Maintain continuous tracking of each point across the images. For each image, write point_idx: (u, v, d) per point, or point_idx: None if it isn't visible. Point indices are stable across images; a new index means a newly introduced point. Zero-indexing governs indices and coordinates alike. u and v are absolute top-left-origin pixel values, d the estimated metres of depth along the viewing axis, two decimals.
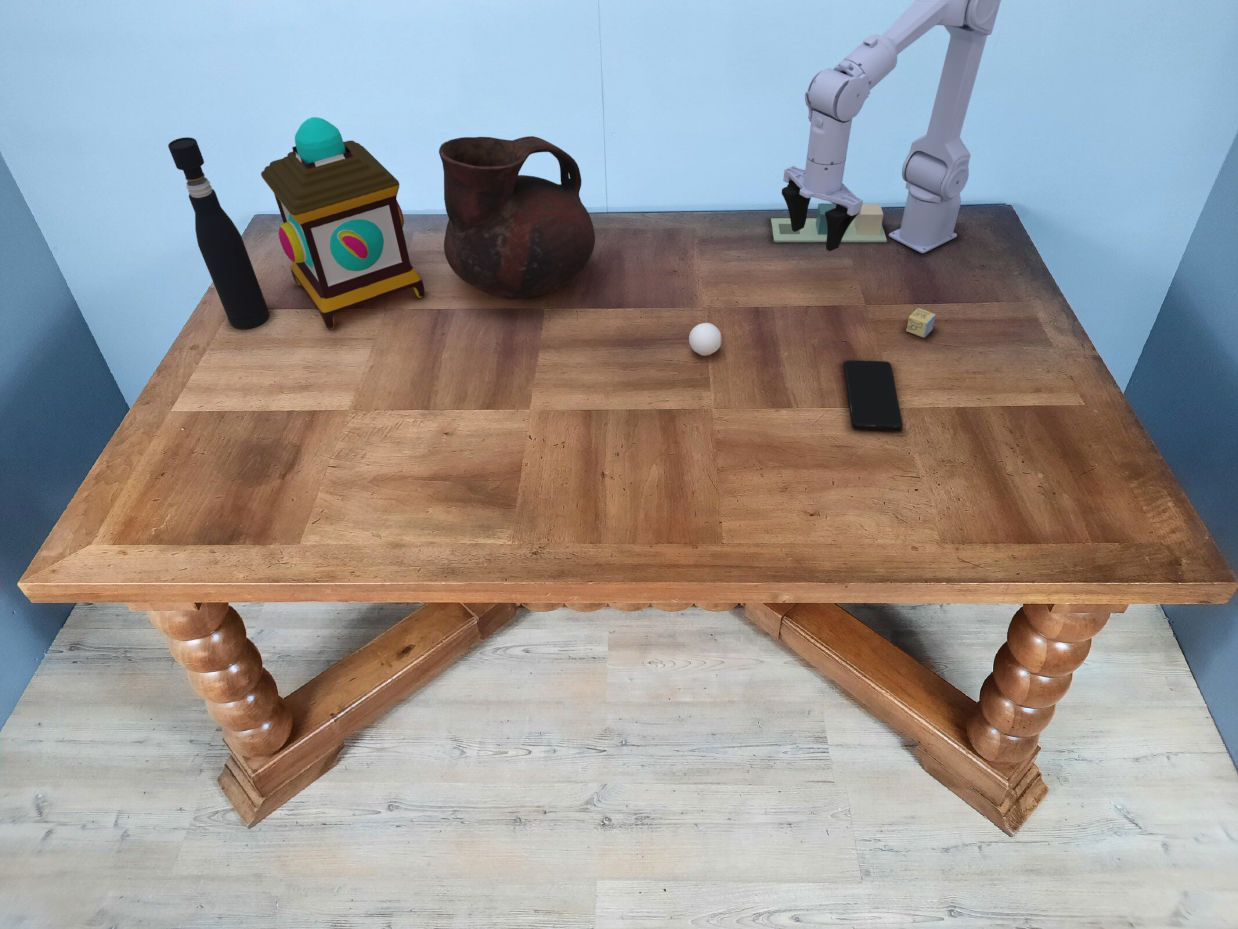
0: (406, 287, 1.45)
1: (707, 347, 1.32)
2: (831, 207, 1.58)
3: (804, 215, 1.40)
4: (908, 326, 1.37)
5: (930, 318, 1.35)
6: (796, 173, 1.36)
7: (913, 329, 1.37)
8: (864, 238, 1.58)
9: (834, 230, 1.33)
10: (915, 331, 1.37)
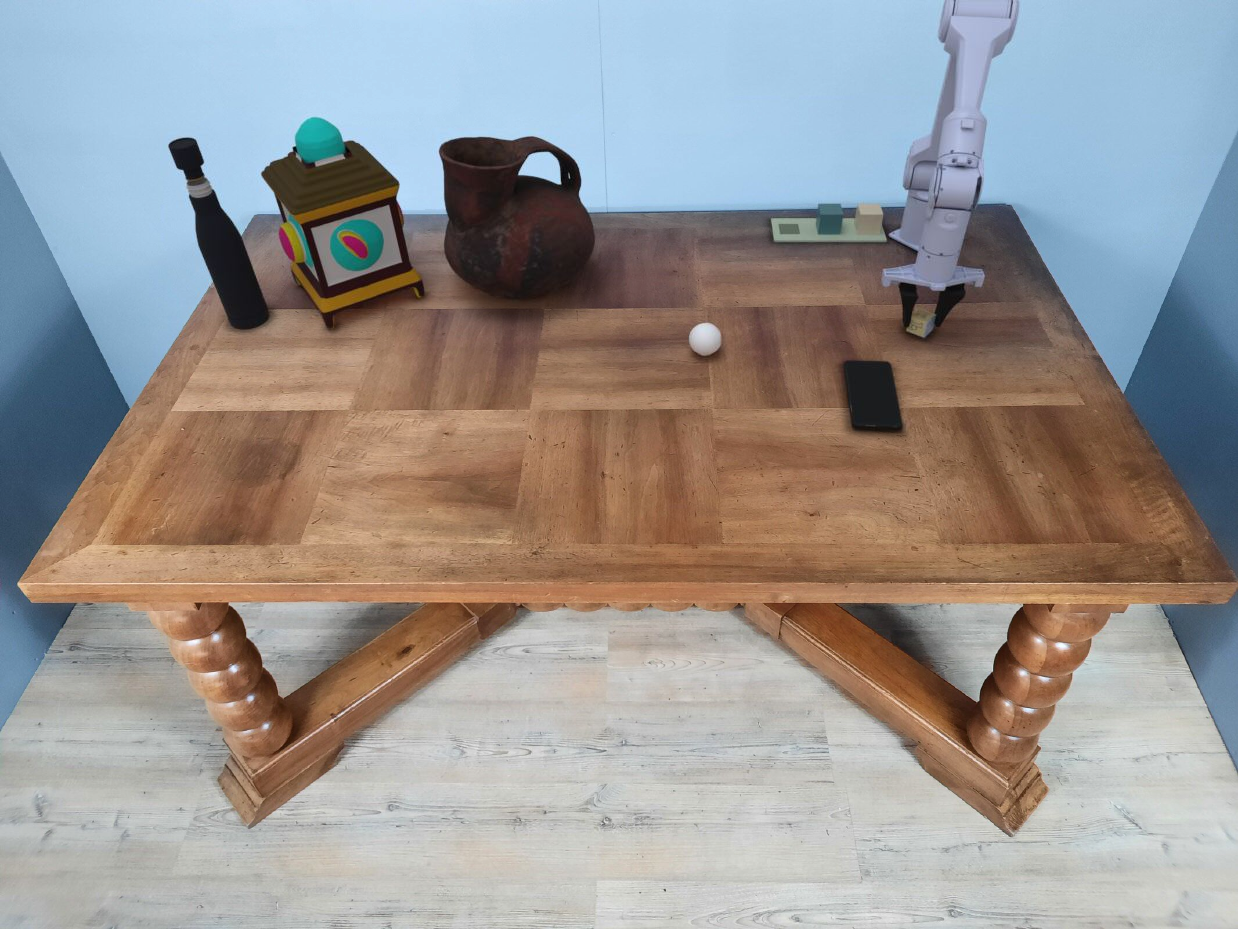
0: (406, 287, 1.45)
1: (707, 347, 1.32)
2: (831, 207, 1.58)
3: None
4: None
5: (930, 318, 1.35)
6: (897, 274, 1.31)
7: (913, 329, 1.37)
8: (864, 238, 1.58)
9: (953, 306, 1.33)
10: (915, 331, 1.37)
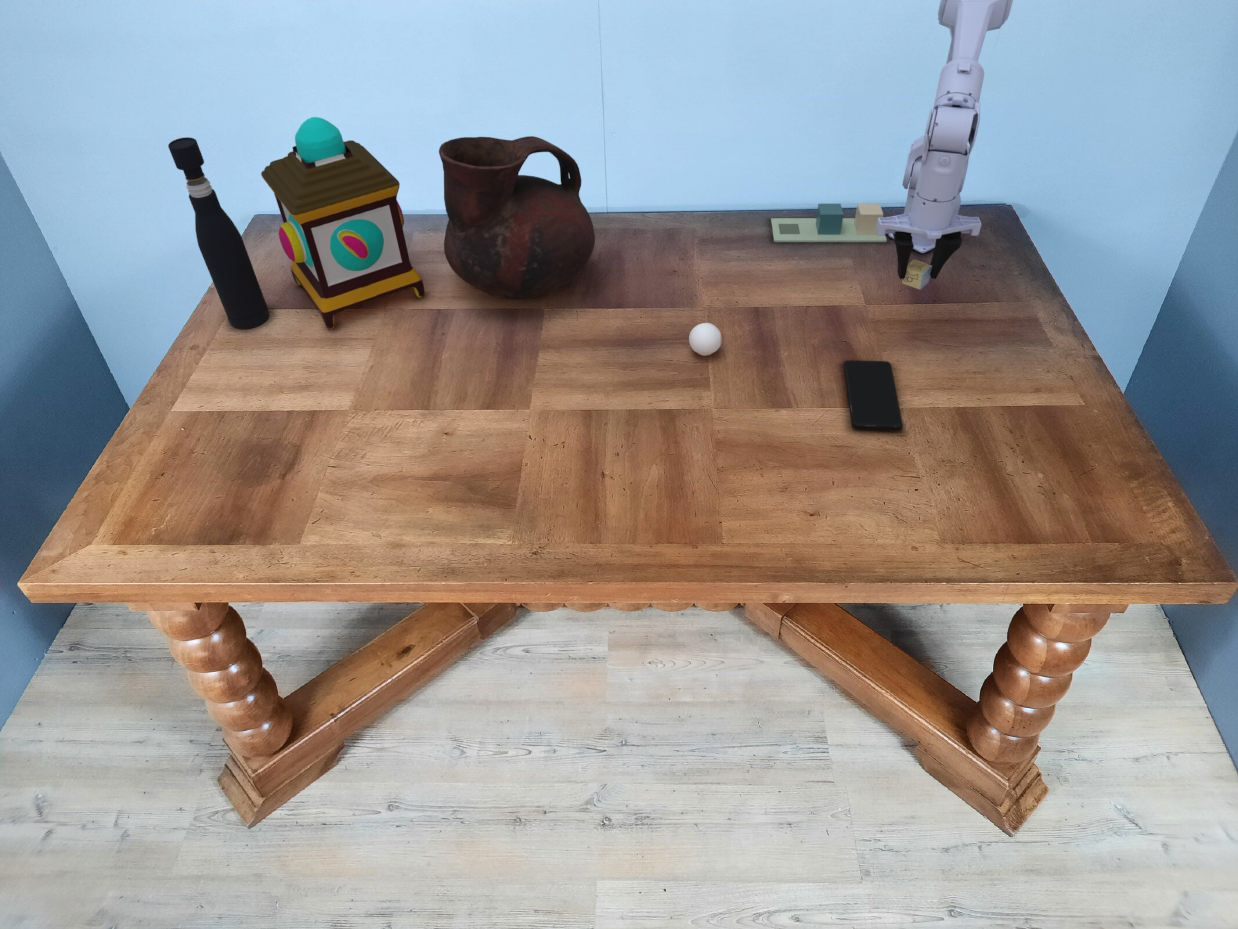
0: (406, 287, 1.45)
1: (707, 347, 1.32)
2: (831, 207, 1.58)
3: None
4: (904, 278, 1.34)
5: (926, 269, 1.32)
6: (892, 222, 1.28)
7: (909, 281, 1.34)
8: (864, 238, 1.58)
9: (949, 256, 1.30)
10: (911, 283, 1.34)
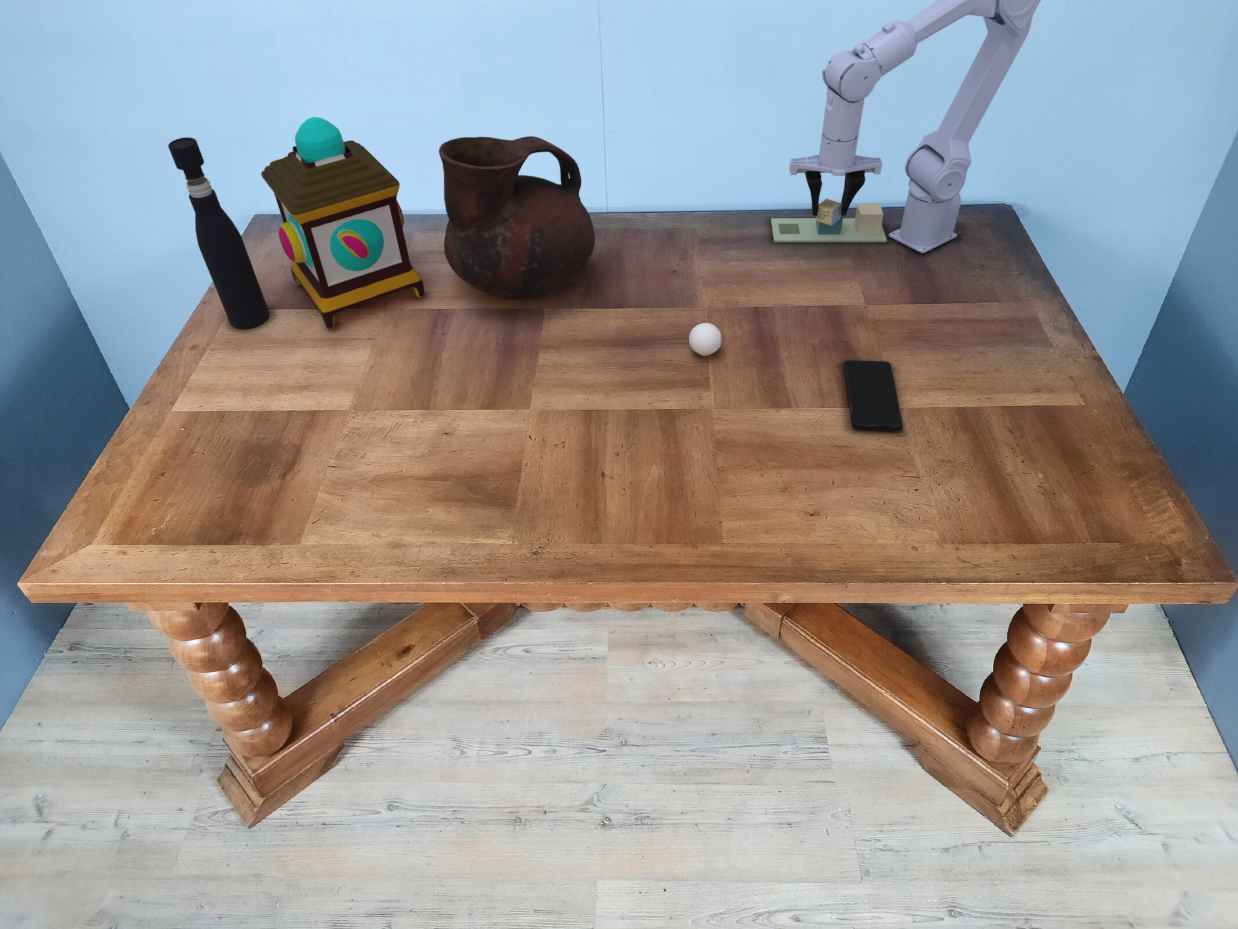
0: (406, 287, 1.45)
1: (707, 347, 1.32)
2: None
3: None
4: (817, 215, 1.49)
5: (836, 206, 1.47)
6: (802, 162, 1.42)
7: (821, 217, 1.48)
8: (864, 238, 1.58)
9: (855, 193, 1.44)
10: (823, 220, 1.48)
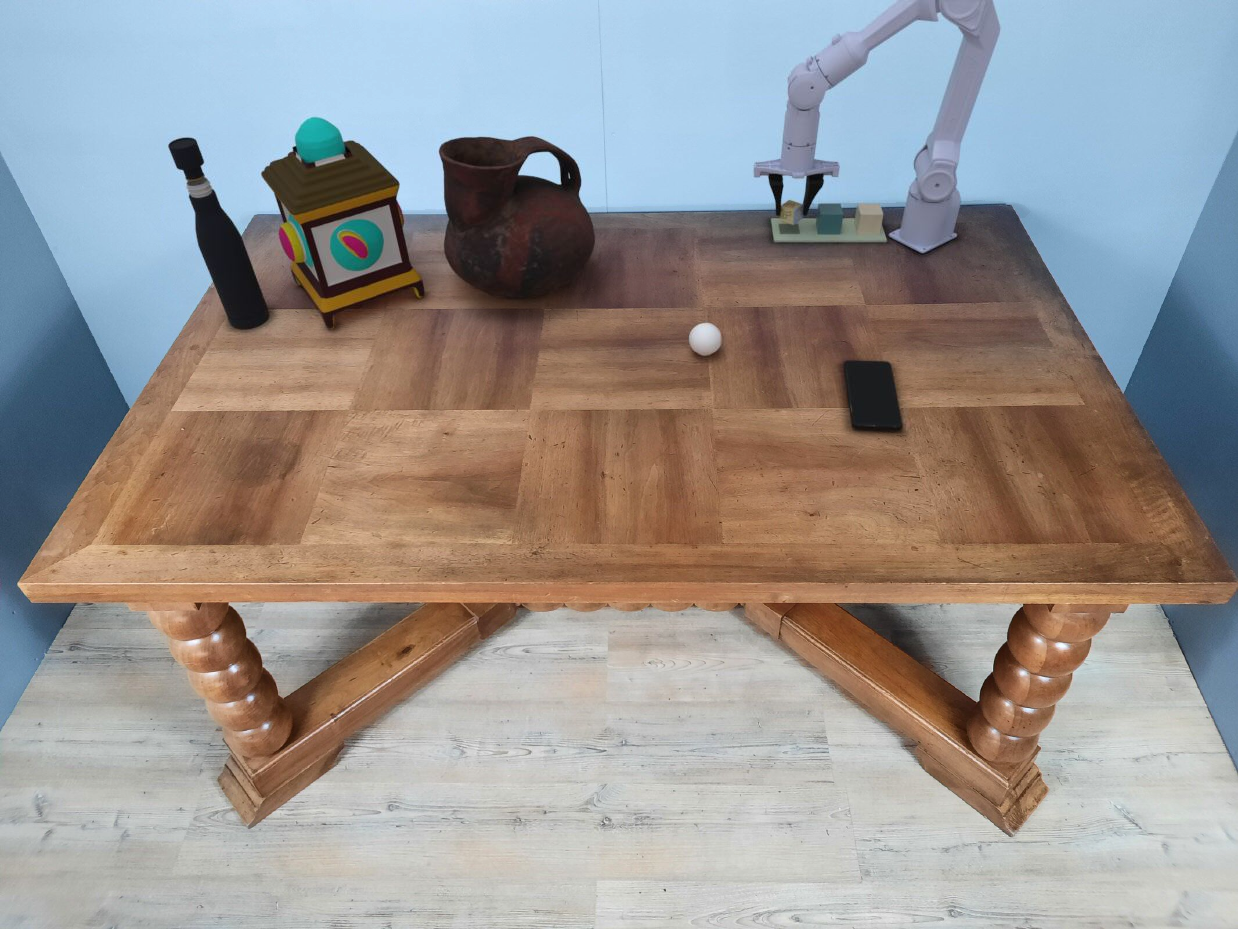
0: (406, 287, 1.45)
1: (707, 347, 1.32)
2: (831, 207, 1.58)
3: None
4: (780, 215, 1.59)
5: (798, 207, 1.57)
6: (765, 166, 1.52)
7: (784, 217, 1.58)
8: (864, 238, 1.58)
9: (815, 195, 1.54)
10: (786, 219, 1.58)
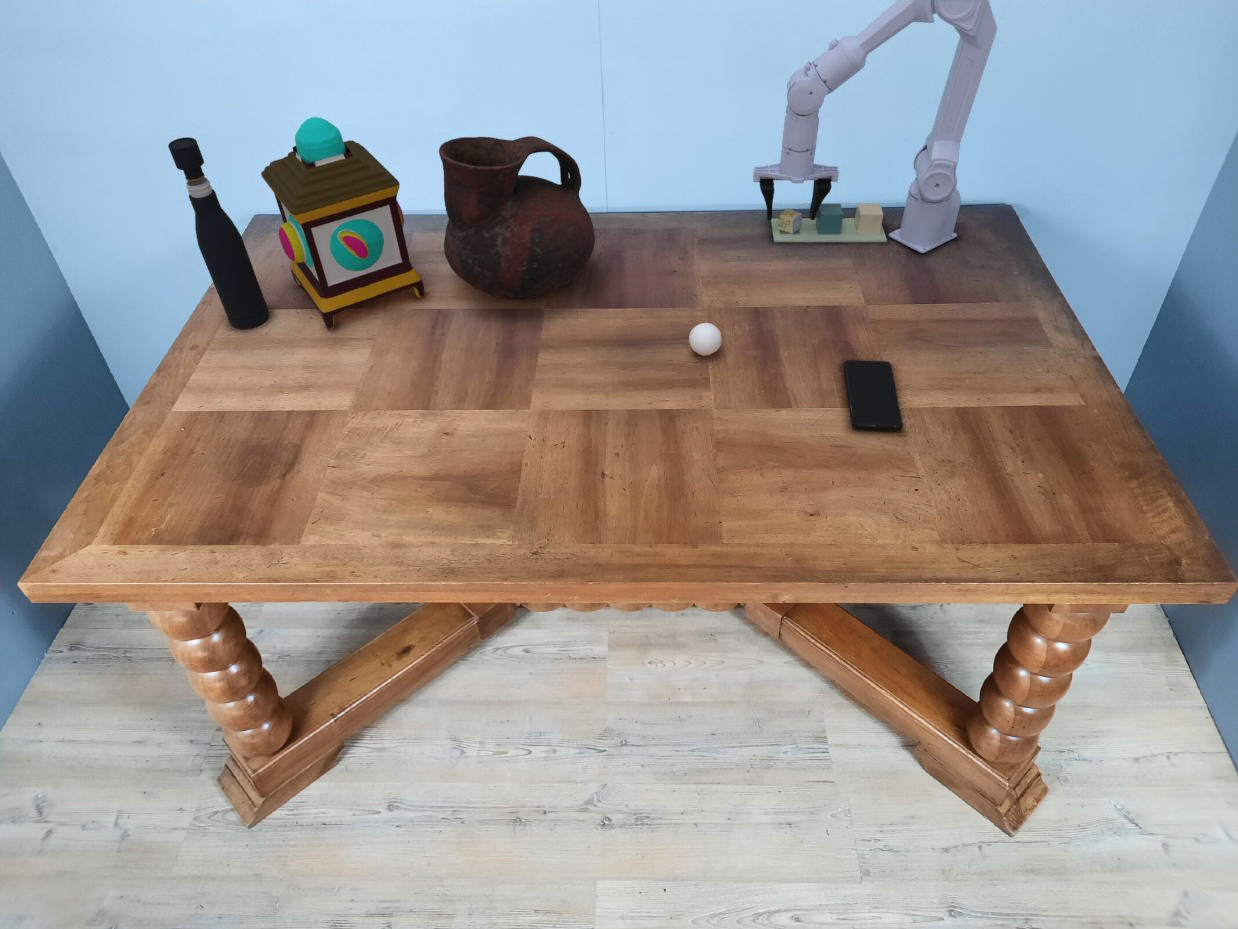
0: (406, 287, 1.45)
1: (707, 347, 1.32)
2: (831, 207, 1.58)
3: None
4: (779, 224, 1.60)
5: (797, 216, 1.58)
6: (765, 170, 1.53)
7: (783, 226, 1.59)
8: (864, 238, 1.58)
9: None
10: (785, 228, 1.59)
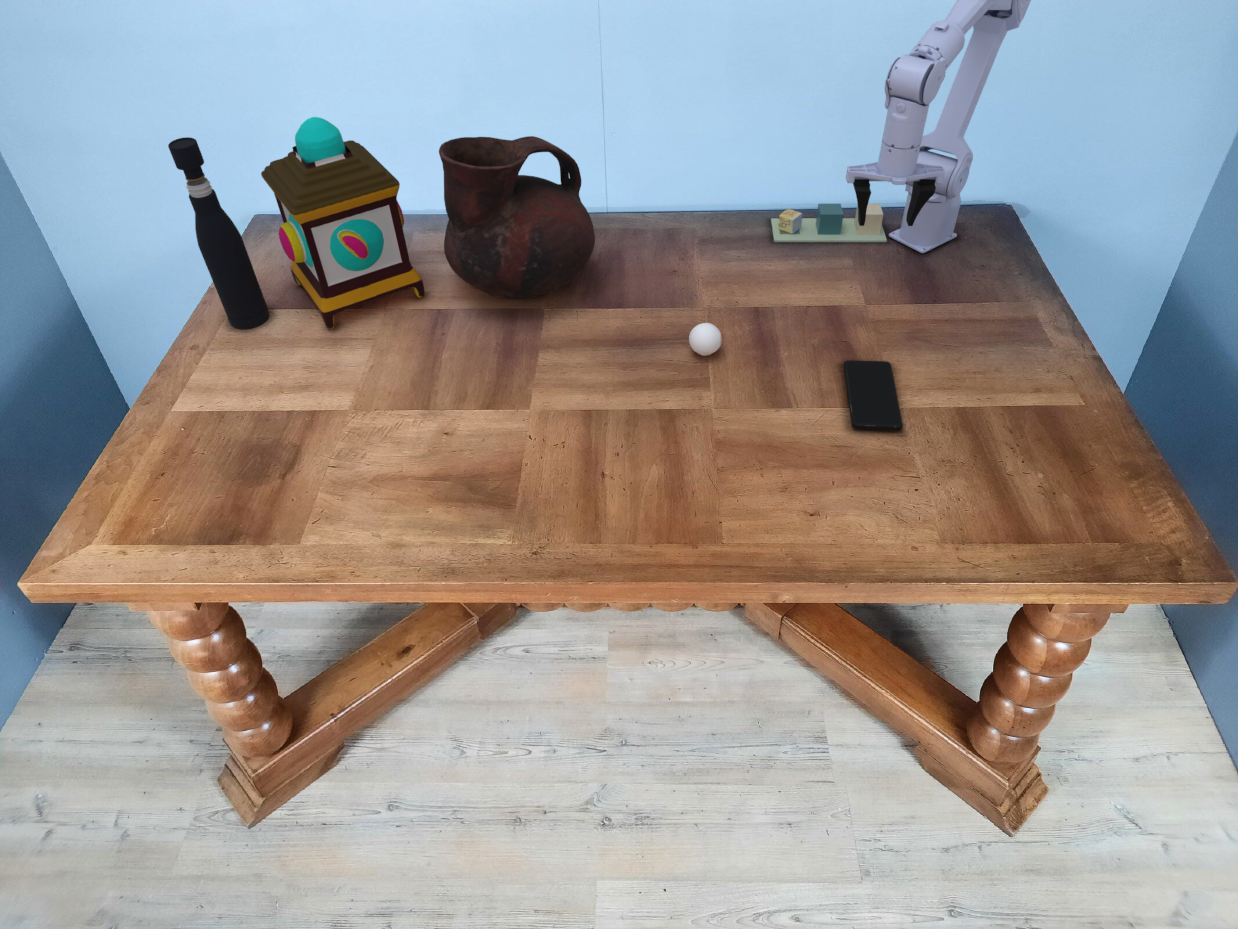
0: (406, 287, 1.45)
1: (707, 347, 1.32)
2: (831, 207, 1.58)
3: None
4: (779, 224, 1.60)
5: (797, 216, 1.58)
6: (860, 170, 1.36)
7: (783, 226, 1.59)
8: (864, 238, 1.58)
9: (924, 203, 1.37)
10: (785, 228, 1.59)
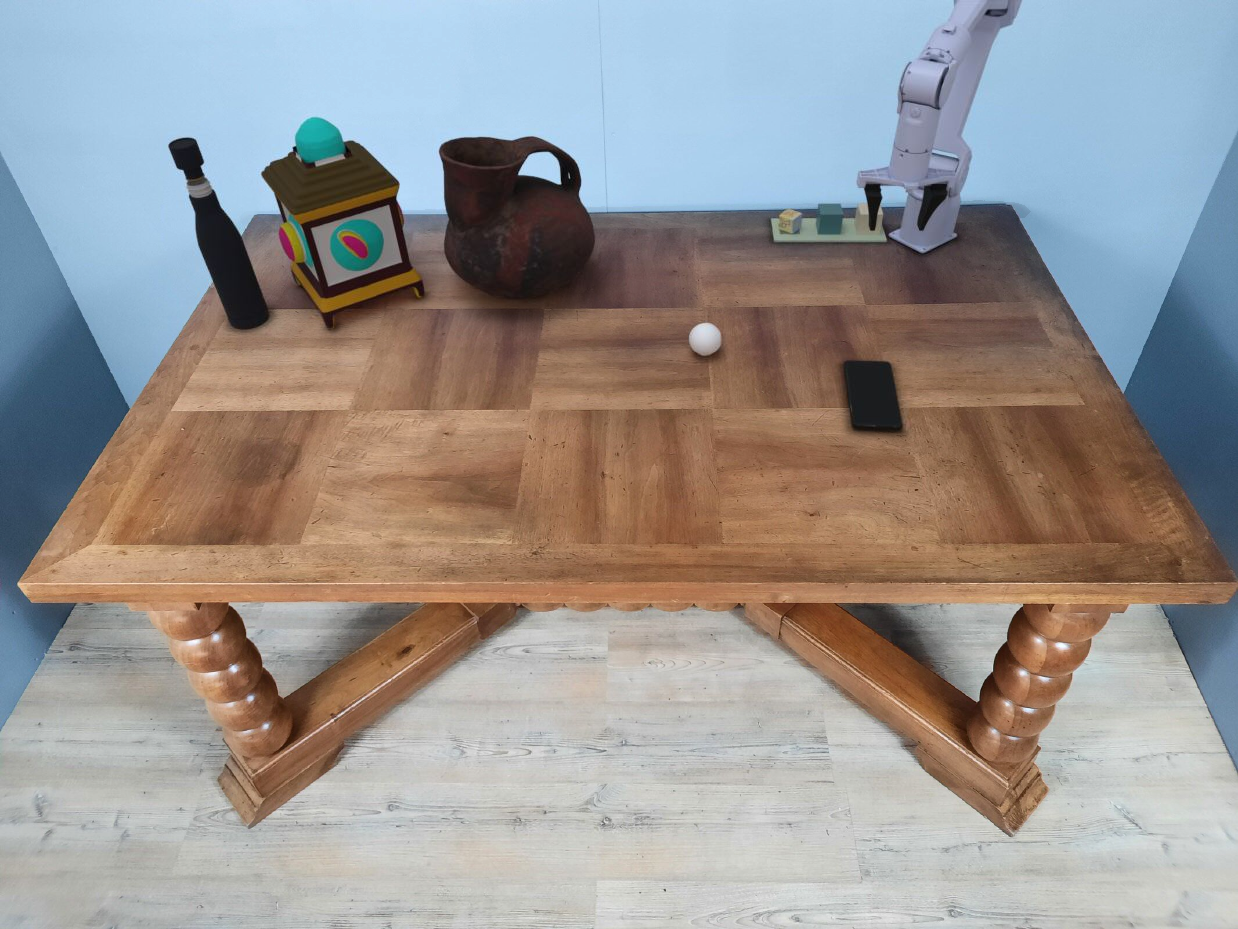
0: (406, 287, 1.45)
1: (707, 347, 1.32)
2: (831, 207, 1.58)
3: None
4: (779, 224, 1.60)
5: (797, 216, 1.58)
6: (871, 175, 1.34)
7: (783, 226, 1.59)
8: (864, 238, 1.58)
9: (936, 208, 1.36)
10: (785, 228, 1.59)
